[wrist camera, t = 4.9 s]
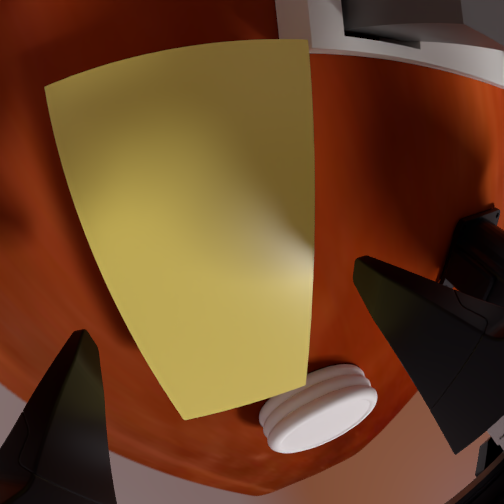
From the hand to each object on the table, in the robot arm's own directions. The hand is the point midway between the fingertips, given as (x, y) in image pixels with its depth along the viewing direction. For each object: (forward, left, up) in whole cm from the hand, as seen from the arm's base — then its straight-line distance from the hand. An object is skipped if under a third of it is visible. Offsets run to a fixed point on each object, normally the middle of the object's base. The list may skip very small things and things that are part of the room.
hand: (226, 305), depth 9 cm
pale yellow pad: (0, 0, -4) cm, 4 cm away
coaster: (-6, +18, -5) cm, 20 cm away
